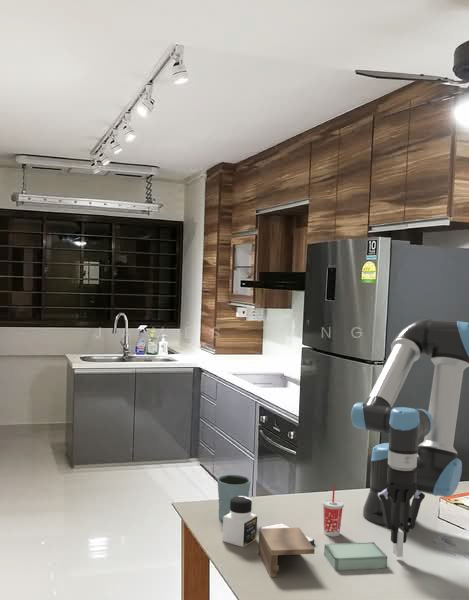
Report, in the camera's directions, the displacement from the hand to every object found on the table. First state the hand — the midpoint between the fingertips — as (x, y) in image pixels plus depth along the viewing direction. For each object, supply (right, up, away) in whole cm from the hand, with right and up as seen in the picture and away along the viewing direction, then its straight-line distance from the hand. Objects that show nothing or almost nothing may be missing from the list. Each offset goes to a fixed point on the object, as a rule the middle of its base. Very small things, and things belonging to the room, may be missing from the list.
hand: (397, 554), depth 175 cm
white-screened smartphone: (-29, -1, +12) cm, 31 cm away
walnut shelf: (-30, 0, -5) cm, 31 cm away
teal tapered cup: (-44, +1, +26) cm, 51 cm away
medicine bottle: (-42, 0, +9) cm, 43 cm away
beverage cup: (-15, -1, +17) cm, 22 cm away
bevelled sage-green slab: (-12, -1, -2) cm, 12 cm away
